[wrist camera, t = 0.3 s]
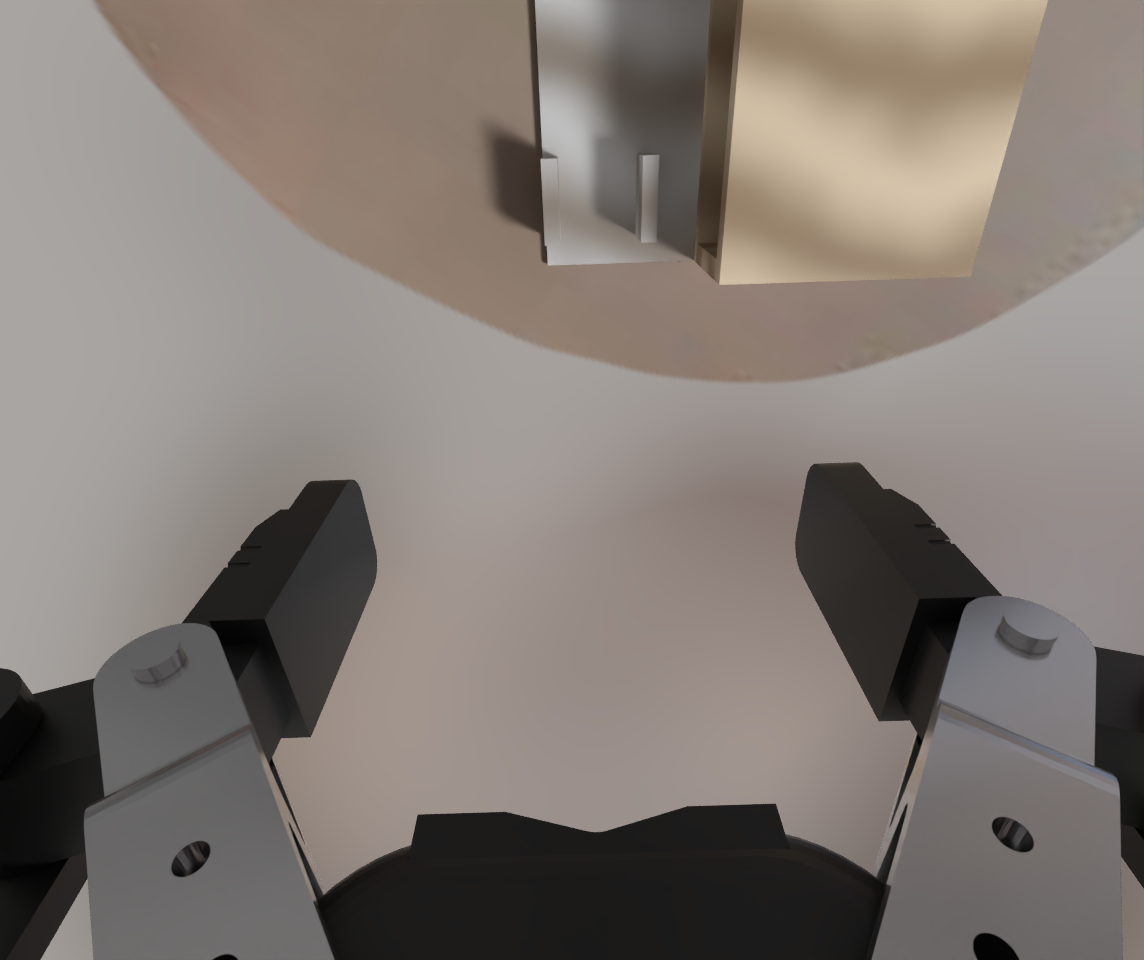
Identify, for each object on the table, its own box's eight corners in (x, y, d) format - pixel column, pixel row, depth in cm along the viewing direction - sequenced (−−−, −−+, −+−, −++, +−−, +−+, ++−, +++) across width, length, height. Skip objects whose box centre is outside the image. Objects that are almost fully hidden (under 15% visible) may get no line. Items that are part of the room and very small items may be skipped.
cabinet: (527, -168, 27) (515, -259, 20) (997, -187, 26) (1127, -284, 20) (548, 264, 35) (544, 290, 29) (900, 252, 35) (970, 276, 29)
